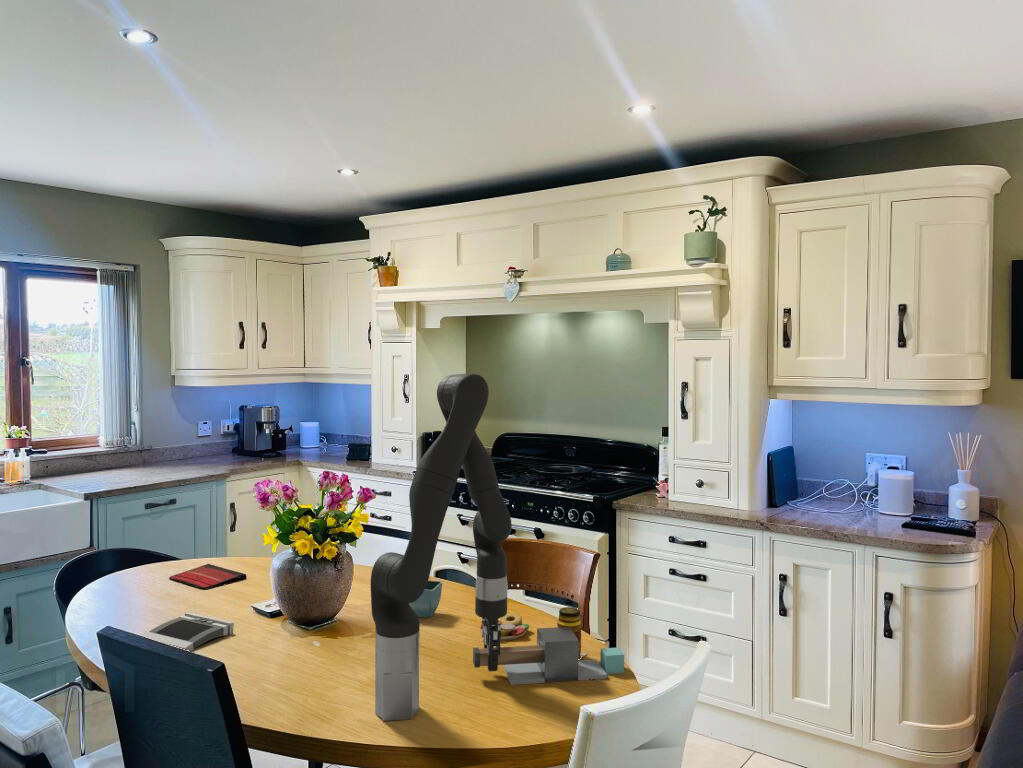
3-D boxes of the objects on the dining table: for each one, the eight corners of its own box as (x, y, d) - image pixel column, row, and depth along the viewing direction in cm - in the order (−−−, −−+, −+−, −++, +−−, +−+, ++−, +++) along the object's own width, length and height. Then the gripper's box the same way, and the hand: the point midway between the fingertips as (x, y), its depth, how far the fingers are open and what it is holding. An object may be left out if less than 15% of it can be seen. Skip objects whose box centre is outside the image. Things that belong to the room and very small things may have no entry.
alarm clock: (233, 622, 206) (184, 637, 191) (232, 639, 206) (182, 656, 191) (188, 612, 214) (137, 626, 199) (187, 629, 213) (136, 644, 199)
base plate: (606, 678, 180) (607, 674, 180) (510, 684, 176) (510, 680, 176) (596, 663, 189) (596, 659, 189) (504, 668, 185) (504, 664, 185)
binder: (208, 562, 267) (246, 573, 255) (209, 569, 267) (247, 580, 256) (165, 575, 254) (204, 587, 242) (166, 582, 254) (204, 594, 242)
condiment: (575, 664, 188) (575, 616, 188) (544, 657, 192) (545, 610, 192) (587, 654, 194) (587, 607, 194) (557, 648, 199) (557, 602, 198)
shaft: (572, 662, 181) (572, 647, 181) (474, 667, 177) (474, 653, 177) (568, 656, 185) (568, 642, 184) (472, 661, 181) (473, 647, 180)
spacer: (606, 655, 183) (606, 674, 183) (624, 654, 183) (624, 673, 184) (600, 648, 187) (600, 666, 187) (618, 647, 188) (617, 665, 188)
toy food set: (517, 622, 218) (517, 611, 218) (536, 638, 206) (536, 626, 206) (473, 628, 213) (473, 616, 213) (490, 645, 200) (490, 633, 200)
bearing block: (578, 680, 179) (578, 640, 178) (544, 682, 177) (545, 642, 177) (568, 665, 188) (569, 626, 187) (536, 666, 186) (537, 628, 186)
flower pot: (403, 618, 219) (403, 587, 219) (414, 608, 228) (414, 578, 227) (432, 621, 217) (432, 590, 217) (442, 611, 225) (443, 581, 225)
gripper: (512, 603, 172) (511, 676, 173) (502, 584, 187) (501, 652, 187) (479, 604, 171) (478, 678, 172) (471, 585, 185) (471, 654, 186)
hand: (490, 664), depth 180 cm, fingers open, 6 cm apart
